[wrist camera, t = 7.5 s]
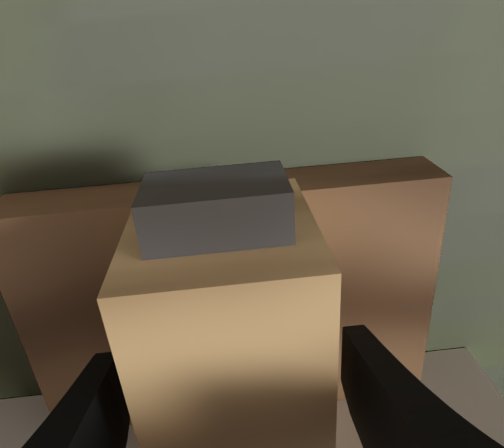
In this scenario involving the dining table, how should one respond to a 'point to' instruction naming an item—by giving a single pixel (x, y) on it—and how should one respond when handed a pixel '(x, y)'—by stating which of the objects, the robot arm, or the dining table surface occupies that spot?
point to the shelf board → (347, 440)
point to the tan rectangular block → (225, 312)
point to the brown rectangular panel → (328, 220)
